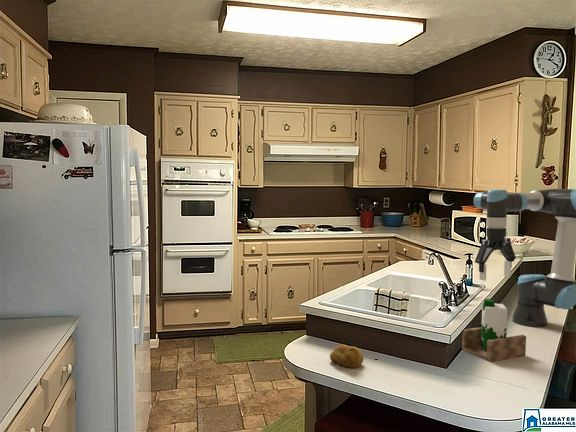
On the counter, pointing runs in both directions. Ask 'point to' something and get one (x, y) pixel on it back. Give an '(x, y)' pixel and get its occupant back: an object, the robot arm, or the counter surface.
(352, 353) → the bread roll
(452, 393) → the counter surface
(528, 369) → the counter surface
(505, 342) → the u rest
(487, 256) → the robot arm
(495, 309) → the soya milk
